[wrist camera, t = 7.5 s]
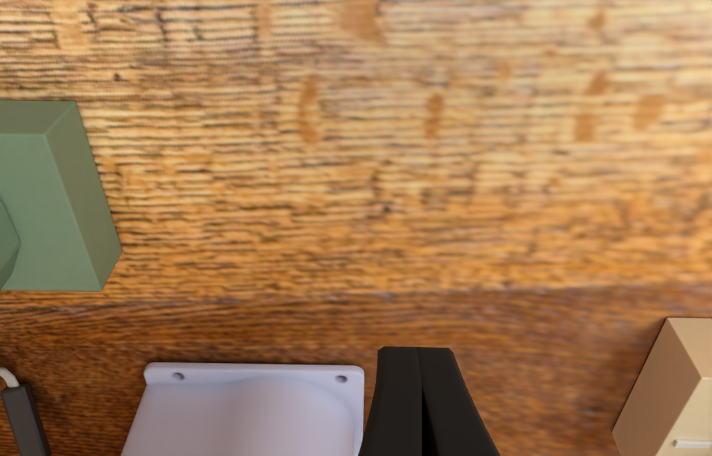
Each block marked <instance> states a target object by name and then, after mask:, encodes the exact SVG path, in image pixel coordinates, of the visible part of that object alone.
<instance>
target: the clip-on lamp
mask: <svg viewBox="0 0 712 456" xmlns="http://www.w3.org/2000/svg"><path fill="white" fill-rule="evenodd" d="M0 376H2V377H3V378H4V379H5V381H6V383H7V385H8V387H7V388H5V389H4V390H2V391H1V397H2V401H3V404H4V407H5V410H6V413H7V416H8V419H9V422H10V425H11V428H12V432H13V435H14V438H15V441H16V444H17V447H18V450H19V453H20V456H51V450H50V447H49V444H48V441H47V437H46V434H45V431H44V428H43V424H42V421H41V418H40V415H39V412H38V408H37V405H36V402H35V399H34V396H33V392H32V389H31V386H30V384H29V383H23V384H19V383H18V381H17V379H16V377H15V376H14V375H13V374H12V373H11V372H10V371H9V370H7V369H6V368H4V367H0Z"/></svg>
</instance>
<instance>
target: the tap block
mask: <svg viewBox="0 0 712 456" xmlns="http://www.w3.org/2000/svg"><path fill="white" fill-rule="evenodd" d="M612 436H613V438H614V441H615V444H616V446H617V449H618V451H619V454H620V456H712V318H667V319H666V321H665V323H664V325H663V327H662V329H661V331H660V333H659V335H658V337H657V339H656V341H655V343H654V345H653V348H652V350H651V352H650V354H649V356H648V358H647V360H646V362H645V364H644V366H643V368H642V370H641V372H640V374H639V377H638V379H637V381H636V383H635V385H634V387H633V389H632V391H631V393H630V395H629V397H628V399H627V401H626V403H625V405H624V408H623V410H622V412H621V414H620V416H619V418H618V420H617V422H616V424H615V426H614V428H613V430H612Z"/></svg>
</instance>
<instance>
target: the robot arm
mask: <svg viewBox="0 0 712 456" xmlns="http://www.w3.org/2000/svg"><path fill="white" fill-rule="evenodd" d="M340 375H341V376H340ZM144 378H145V380H146V383H147V385H146V388H145V391H144V393H143V396H142V399H141V401H140V404H139V407H138V410H137V412H136V415H135V418H134V420H133V423H132V426H131V429H130V431H129V434H128V437H127V439H126V442H125V445H124V448H123V450H122V453H121V456H500V454H499V452H498V450H497V448H496V447H495V445H494V443H493V441H492V439H491V437H490V435H489V433H488V431H487V430H486V428H485V425H484V423H483V421H482V419H481V417H480V415H479V413H478V411H477V409H476V407H475V405H474V403H473V400H472V398H471V396H470V394H469V392H468V389H467V387H466V385H465V382H464V380H463V378H462V375H461V373H460V370H459V367H458V365H457V362H456V359H455V356H454V353H453V352H452V351H451V350H450V349H449V348H430V347H387V346H384V347H383V348H381V349H379V350H378V359H377V375H376V385H375V391H374V396H373V400H372V405H371V410H370V414H369V418H368V421H367V425H366V429H365V432H364V436H363V407H364V371H363V369H362V368H360V367H358V366H354V365H300V364H238V363H176V362H153V363H149V364H147V366H146V367H145V370H144Z"/></svg>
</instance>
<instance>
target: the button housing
mask: <svg viewBox="0 0 712 456" xmlns="http://www.w3.org/2000/svg"><path fill="white" fill-rule="evenodd" d="M121 253H122V248H121V245H120V242H119V238H118V235H117V232H116V229H115V226H114V222H113V219H112V216H111V213H110V210H109V206H108V203H107V200H106V197H105V194H104V190H103V187H102V184H101V181H100V178H99V174H98V171H97V168H96V165H95V162H94V158H93V155H92V152H91V149H90V146H89V142H88V139H87V136H86V133H85V130H84V126H83V123H82V120H81V117H80V114H79V110H78V107H77V104H76V102H74V101H14V100H0V290H23V291H88V292H100V291H102V289H103V287H104V285H105V283H106V281H107V279H108V278H109V276H110V274H111V272H112V270H113V268H114V266H115V264H116V262H117V260H118V259H119V257H120V255H121Z"/></svg>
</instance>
